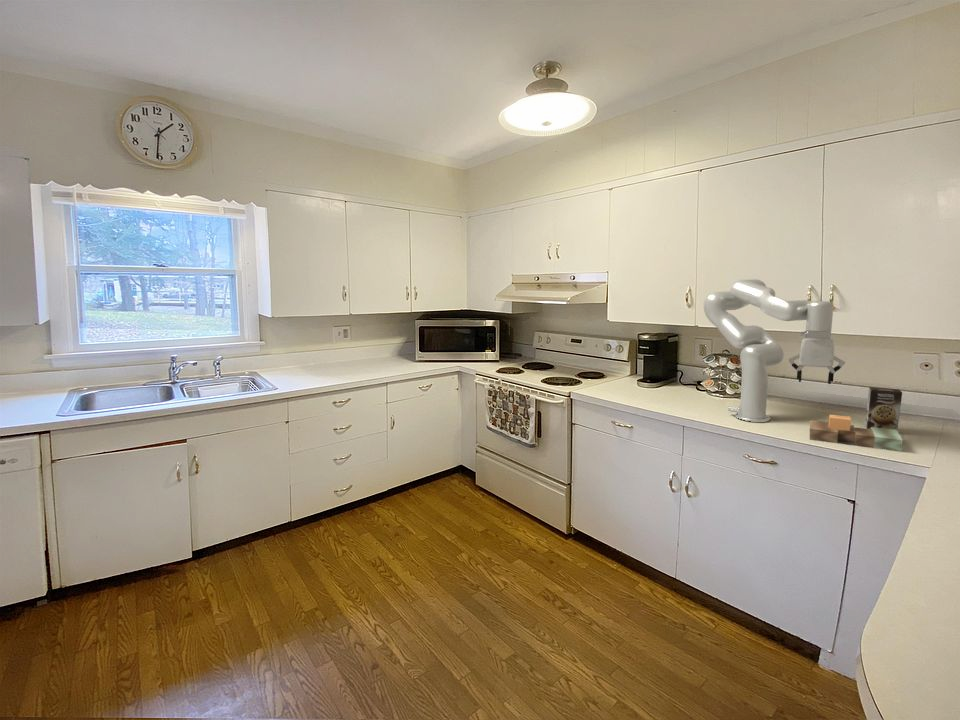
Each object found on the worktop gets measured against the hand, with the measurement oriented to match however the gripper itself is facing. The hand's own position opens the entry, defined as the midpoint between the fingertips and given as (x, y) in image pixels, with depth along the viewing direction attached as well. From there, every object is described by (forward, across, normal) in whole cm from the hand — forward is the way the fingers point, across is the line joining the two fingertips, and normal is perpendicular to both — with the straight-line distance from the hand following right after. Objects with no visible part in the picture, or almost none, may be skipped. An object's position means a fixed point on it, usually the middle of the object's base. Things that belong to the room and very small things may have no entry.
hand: (814, 382), depth 172 cm
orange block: (+16, +8, 0) cm, 18 cm away
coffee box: (+20, +22, +18) cm, 35 cm away
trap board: (+20, +12, 0) cm, 24 cm away
